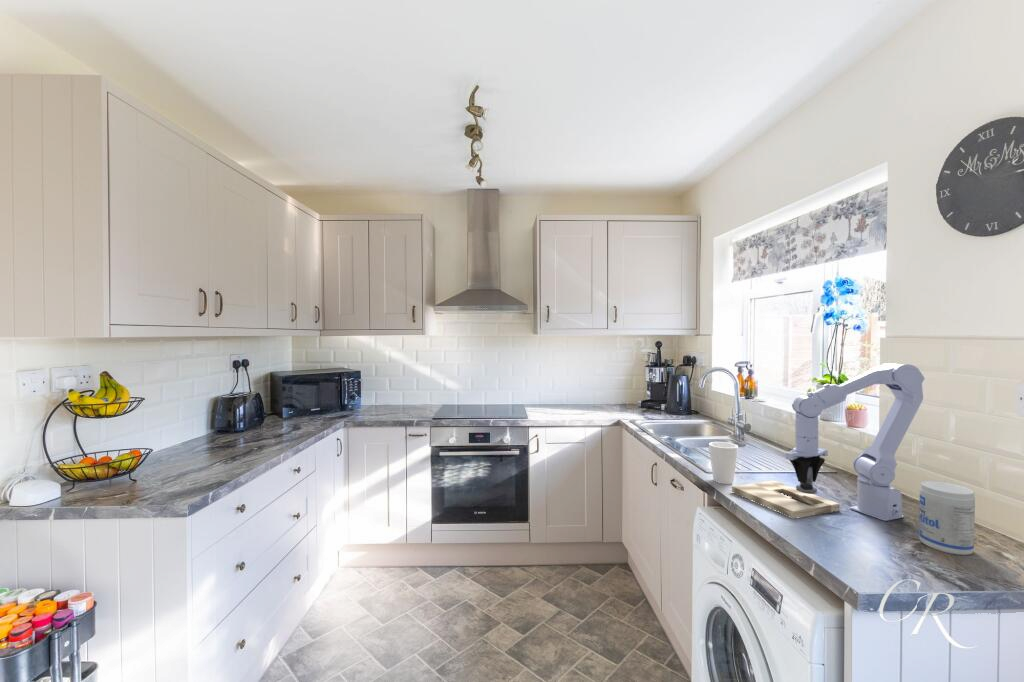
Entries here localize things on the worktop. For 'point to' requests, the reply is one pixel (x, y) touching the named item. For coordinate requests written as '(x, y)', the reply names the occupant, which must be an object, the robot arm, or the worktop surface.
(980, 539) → the worktop surface
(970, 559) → the worktop surface
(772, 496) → the keyhole board
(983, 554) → the worktop surface
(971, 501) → the supplement tub
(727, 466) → the foam cup
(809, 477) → the peg
